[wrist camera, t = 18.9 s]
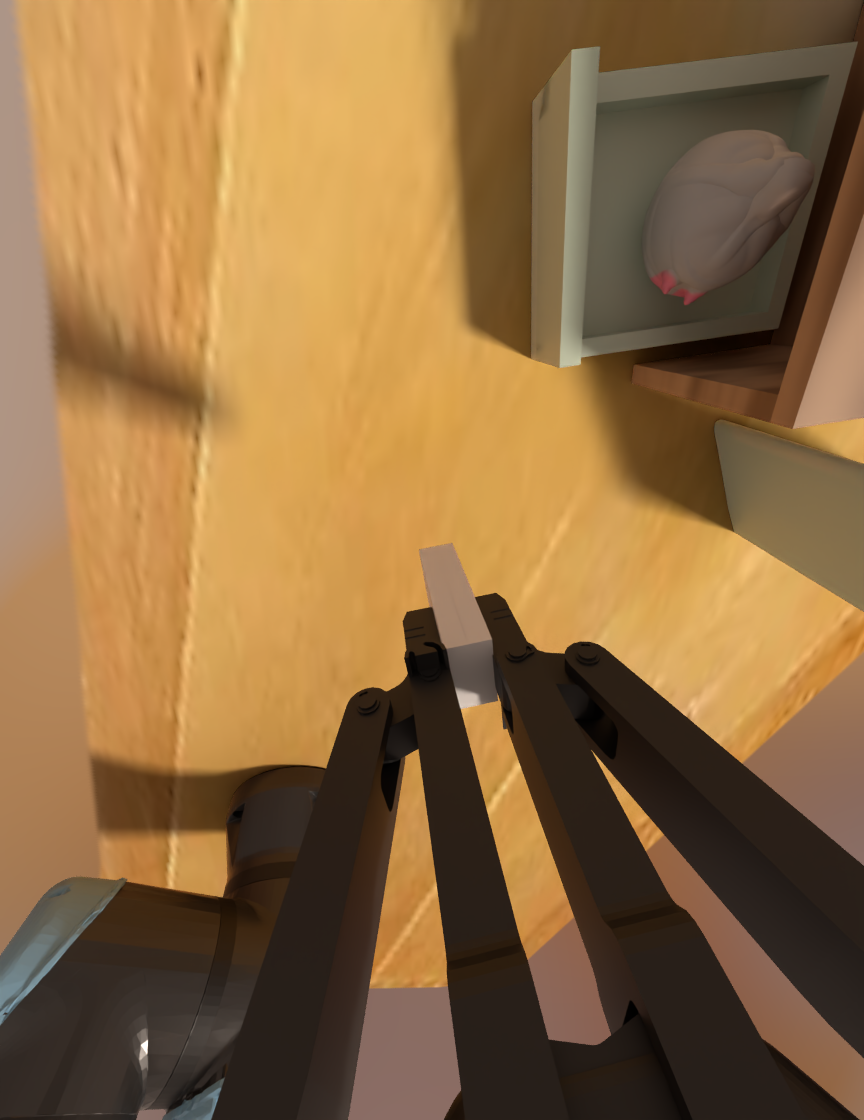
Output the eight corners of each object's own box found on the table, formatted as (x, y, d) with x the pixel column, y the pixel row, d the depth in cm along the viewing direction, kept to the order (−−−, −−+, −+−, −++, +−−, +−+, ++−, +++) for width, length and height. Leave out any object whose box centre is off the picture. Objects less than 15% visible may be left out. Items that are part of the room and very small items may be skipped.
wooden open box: (631, 383, 29) (792, 428, 18) (677, 11, 20) (1054, -362, 9) (781, 360, 30) (1030, 391, 18) (890, -14, 21) (1504, -399, 9)
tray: (530, 358, 28) (559, 367, 23) (532, 101, 21) (571, 49, 17) (747, 327, 28) (814, 329, 24) (811, 67, 22) (916, 8, 18)
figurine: (594, 279, 25) (677, 267, 18) (662, 127, 22) (794, 43, 15) (679, 321, 27) (785, 325, 20) (754, 186, 23) (909, 135, 17)
